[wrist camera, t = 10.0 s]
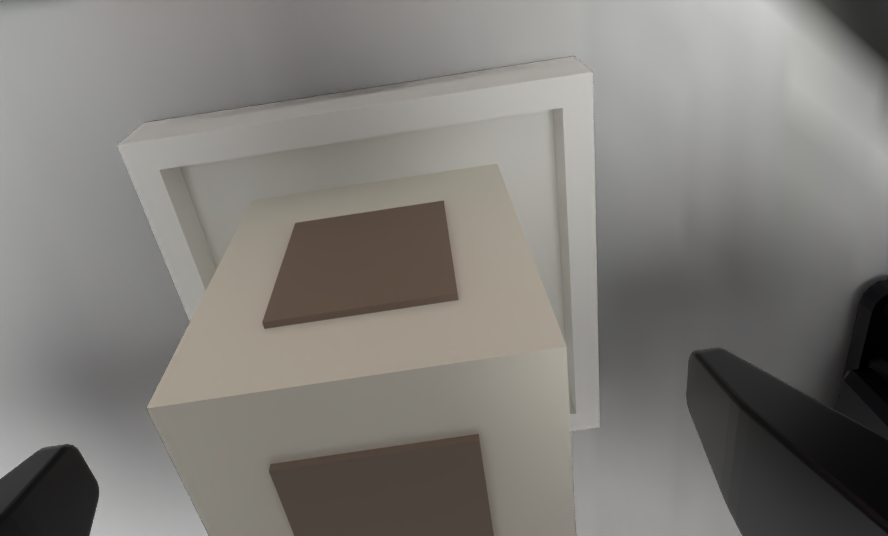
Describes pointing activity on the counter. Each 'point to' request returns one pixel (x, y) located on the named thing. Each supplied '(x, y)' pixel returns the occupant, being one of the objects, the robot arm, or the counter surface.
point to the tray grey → (394, 175)
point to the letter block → (375, 370)
